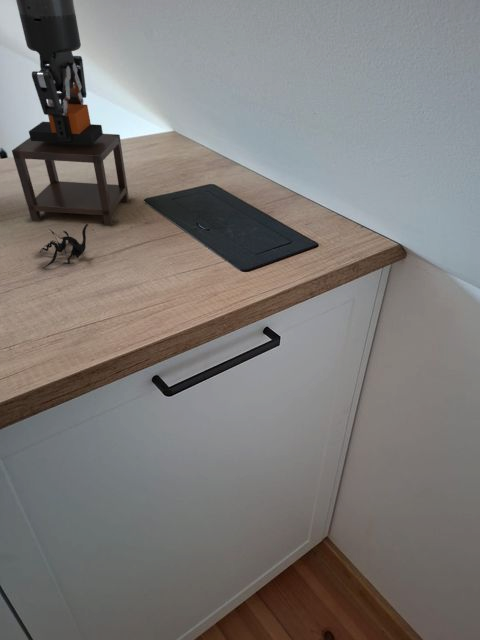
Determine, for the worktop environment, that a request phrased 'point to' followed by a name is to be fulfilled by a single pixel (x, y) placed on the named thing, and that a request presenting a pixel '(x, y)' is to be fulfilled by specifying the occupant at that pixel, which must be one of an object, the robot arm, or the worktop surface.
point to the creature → (76, 248)
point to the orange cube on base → (78, 123)
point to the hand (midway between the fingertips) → (72, 134)
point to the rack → (73, 193)
